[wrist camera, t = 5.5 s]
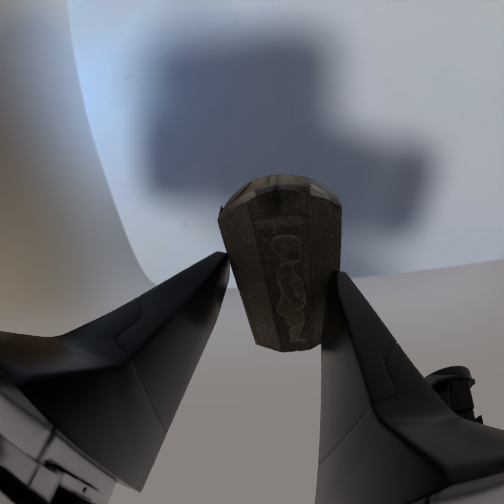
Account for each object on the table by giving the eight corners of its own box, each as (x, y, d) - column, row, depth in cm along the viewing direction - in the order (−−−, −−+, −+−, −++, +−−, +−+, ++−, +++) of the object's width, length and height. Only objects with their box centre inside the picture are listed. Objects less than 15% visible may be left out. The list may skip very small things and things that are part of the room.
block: (258, 321, 12) (249, 355, 11) (218, 180, 9) (197, 203, 8) (348, 317, 11) (349, 353, 10) (336, 163, 8) (339, 185, 7)
